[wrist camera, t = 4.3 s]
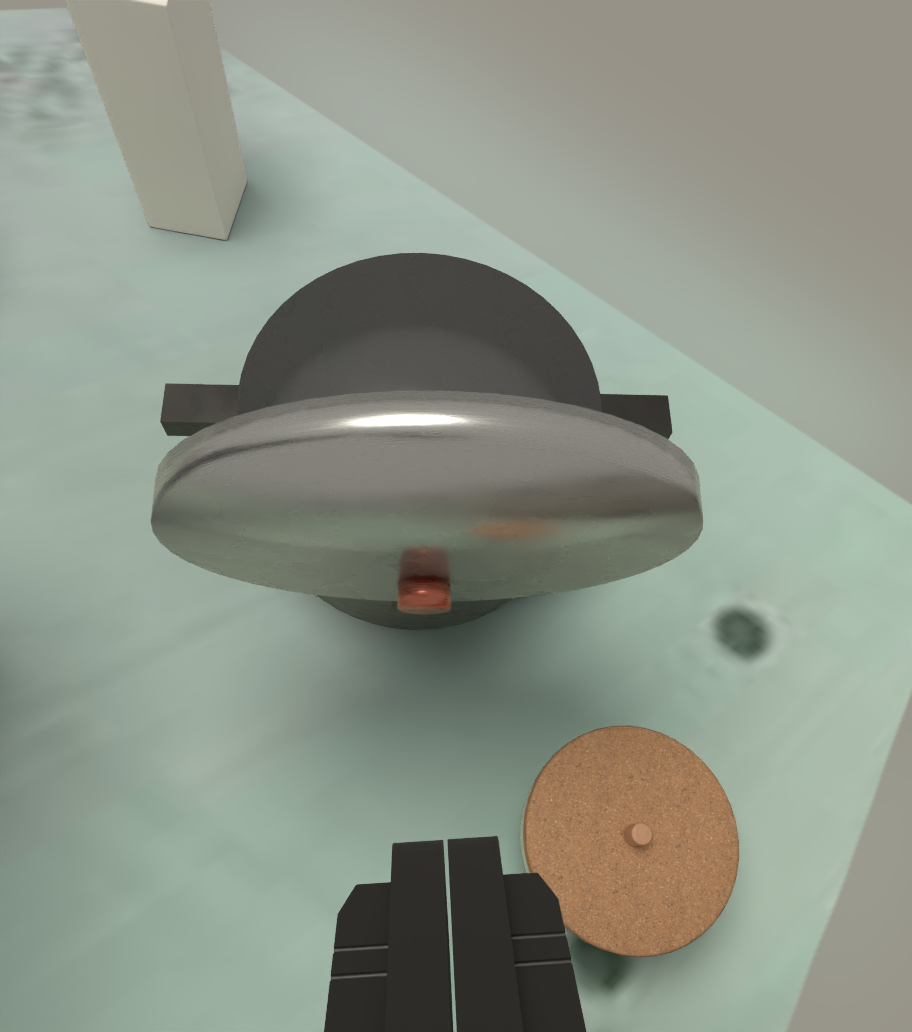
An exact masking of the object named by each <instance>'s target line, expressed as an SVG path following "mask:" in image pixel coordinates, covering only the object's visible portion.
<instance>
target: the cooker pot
mask: <svg viewBox="0 0 912 1032" xmlns="http://www.w3.org/2000/svg"><path fill="white" fill-rule="evenodd" d="M386 391H461V392H480V393H495V394H504V395H512V396H521V397H530V398H538V399H543V400H548V401H554V402H559V403H565V404H570V405H576V406H580V407H584V408H587V409H591V410H595V411H599V412H603V413H606V414H610V415H614V416H616V417H619V418H622V419H625V420H627V421H630V422H633V423H635V424H638V425H641V426H643V427H645V428H647V429H649V430H651V431H653V432H655V433H657V434H659V435H661V436H663V437H665V438H666V439H669V437H670V435H671V434H672V425H671V417H670V409H669V401H668V396H661V395H619V394H600V391H599V385H598V381H597V378H596V375H595V371H594V368H593V365H592V362H591V360H590V358H589V356H588V354H587V352H586V350H585V348H584V346H583V344H582V342H581V341H580V339H579V338H578V336H577V335H576V333H575V332H574V330H573V329H572V327H571V326H570V325H569V324H568V322H567V321H566V320H565V319H564V318H563V317H562V315H561V314H560V313H559V312H558V311H557V310H556V309H555V308H554V307H553V306H552V305H551V304H550V303H548V302H547V301H546V300H545V299H544V298H543V297H542V296H540V295H539V294H538V293H536V292H535V291H533V290H532V289H531V288H529V287H528V286H527V285H525V284H523V283H522V282H520V281H518V280H516V279H515V278H513V277H511V276H509V275H507V274H505V273H503V272H501V271H498V270H496V269H494V268H491V267H489V266H487V265H483V264H480V263H477V262H474V261H470V260H467V259H463V258H457V257H452V256H447V255H439V254H428V253H400V254H392V255H384V256H377V257H373V258H369V259H364V260H360V261H356V262H354V263H351V264H348V265H345V266H342V267H340V268H337V269H335V270H333V271H331V272H329V273H327V274H325V275H323V276H321V277H319V278H317V279H315V280H314V281H312V282H311V283H309V284H307V285H306V286H304V287H303V288H301V289H300V290H299V291H297V292H296V293H295V294H294V295H293V296H291V297H290V298H289V299H288V300H287V301H285V302H284V303H283V304H282V305H281V306H280V307H279V309H278V310H277V311H276V312H275V313H274V314H273V315H272V316H271V317H270V318H269V320H268V321H267V323H266V324H265V325H264V327H263V328H262V330H261V331H260V333H259V334H258V335H257V337H256V339H255V341H254V343H253V345H252V347H251V349H250V351H249V353H248V355H247V358H246V361H245V364H244V367H243V370H242V373H241V378H240V384H239V385H204V384H165V392H164V399H163V406H162V414H161V421H160V422H161V424H162V426H163V428H164V430H165V432H166V434H167V436H191V435H193V434H195V433H197V432H198V431H200V430H202V429H204V428H206V427H208V426H211V425H214V424H216V423H219V422H221V421H224V420H226V419H229V418H231V417H234V416H238V415H241V414H245V413H248V412H252V411H255V410H259V409H262V408H266V407H270V406H275V405H280V404H285V403H290V402H296V401H301V400H306V399H313V398H321V397H329V396H337V395H345V394H355V393H370V392H386ZM318 596H319V597H320V598H322V599H323V600H325V601H326V602H328V603H329V604H331V605H332V606H334V607H335V608H337V609H339V610H341V611H343V612H345V613H347V614H349V615H351V616H353V617H355V618H358V619H361V620H364V621H367V622H370V623H373V624H377V625H382V626H387V627H392V628H402V629H433V628H441V627H447V626H452V625H457V624H460V623H463V622H467V621H470V620H473V619H476V618H478V617H480V616H482V615H485V614H487V613H489V612H491V611H493V610H495V609H497V608H498V607H500V606H501V605H503V604H504V603H506V602H507V601H509V600H510V599H512V598H506V599H493V600H477V601H451V610H450V611H448V612H444V613H438V614H410V613H404V612H401V611H399V610H398V609H397V608H398V601H382V600H364V599H352V598H340V597H331V596H322V595H318Z"/></svg>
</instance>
